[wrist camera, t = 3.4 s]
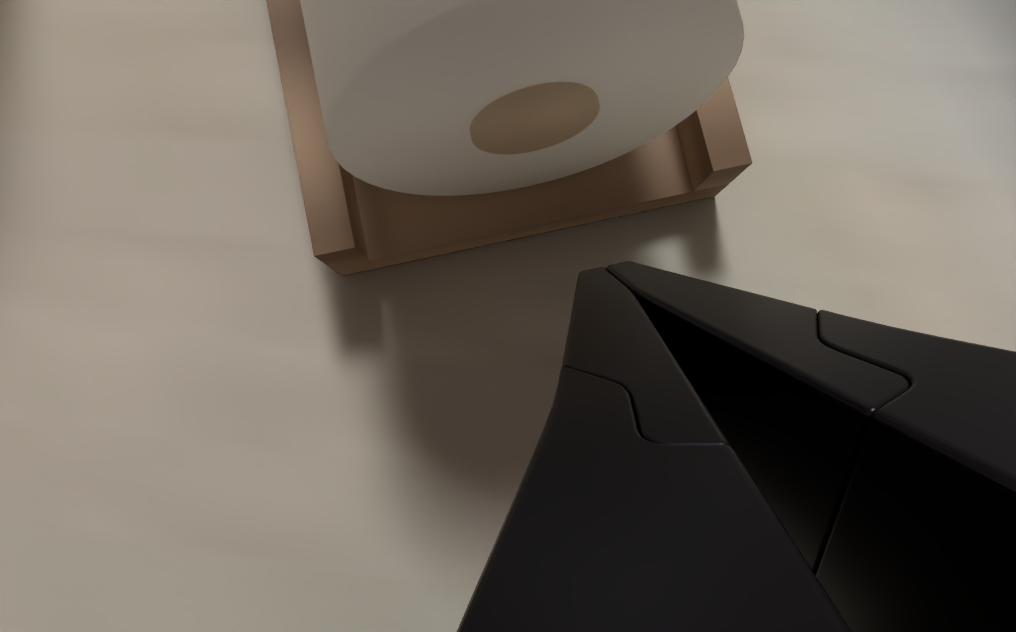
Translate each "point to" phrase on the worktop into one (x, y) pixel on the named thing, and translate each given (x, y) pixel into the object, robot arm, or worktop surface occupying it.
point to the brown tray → (491, 216)
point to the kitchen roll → (508, 84)
